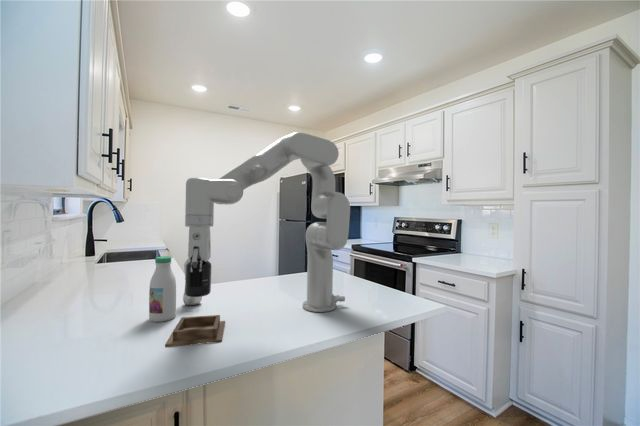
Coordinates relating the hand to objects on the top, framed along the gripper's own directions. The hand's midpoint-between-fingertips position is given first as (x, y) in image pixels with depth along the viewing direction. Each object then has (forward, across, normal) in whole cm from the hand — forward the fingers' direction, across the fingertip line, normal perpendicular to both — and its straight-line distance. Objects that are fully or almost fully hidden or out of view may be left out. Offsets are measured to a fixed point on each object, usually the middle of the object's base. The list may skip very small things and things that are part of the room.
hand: (198, 282), depth 85 cm
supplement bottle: (+3, 0, 0) cm, 3 cm away
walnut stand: (+15, 0, 0) cm, 15 cm away
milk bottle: (+15, +15, +13) cm, 25 cm away
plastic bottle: (+15, +28, +6) cm, 32 cm away
